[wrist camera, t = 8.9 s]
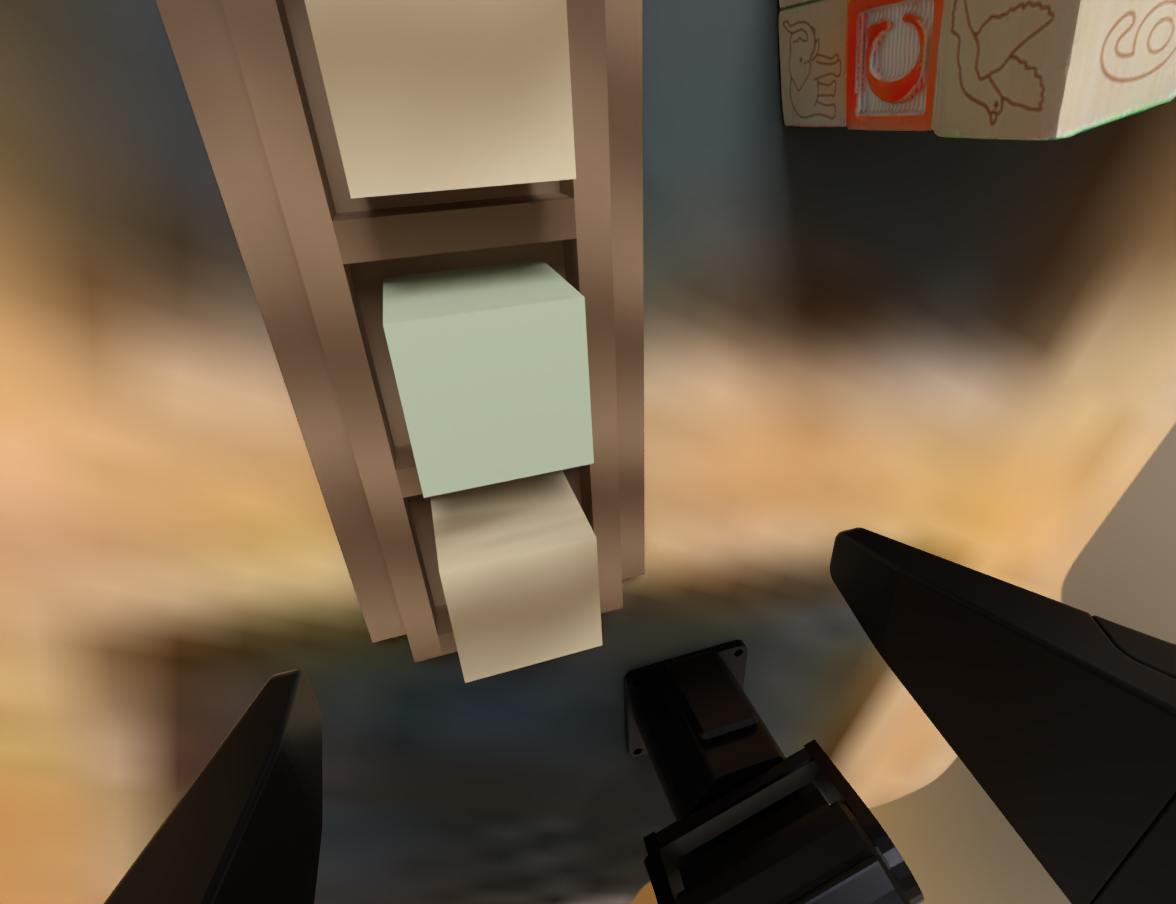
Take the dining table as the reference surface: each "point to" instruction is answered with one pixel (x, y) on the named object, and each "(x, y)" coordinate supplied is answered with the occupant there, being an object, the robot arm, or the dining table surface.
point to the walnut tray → (409, 246)
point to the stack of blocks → (975, 65)
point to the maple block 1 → (446, 92)
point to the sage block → (490, 372)
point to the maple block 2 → (517, 573)
